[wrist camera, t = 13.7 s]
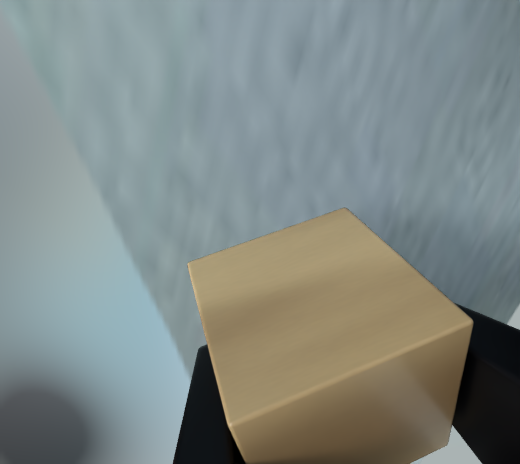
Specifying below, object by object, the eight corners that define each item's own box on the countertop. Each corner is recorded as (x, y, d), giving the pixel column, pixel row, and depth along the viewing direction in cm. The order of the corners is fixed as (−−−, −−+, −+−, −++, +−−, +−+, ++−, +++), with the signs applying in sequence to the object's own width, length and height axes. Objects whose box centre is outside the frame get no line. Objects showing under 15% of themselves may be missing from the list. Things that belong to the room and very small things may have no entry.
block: (353, 317, 11) (449, 445, 8) (228, 367, 10) (276, 529, 7) (345, 205, 9) (476, 320, 6) (186, 261, 8) (228, 427, 5)
